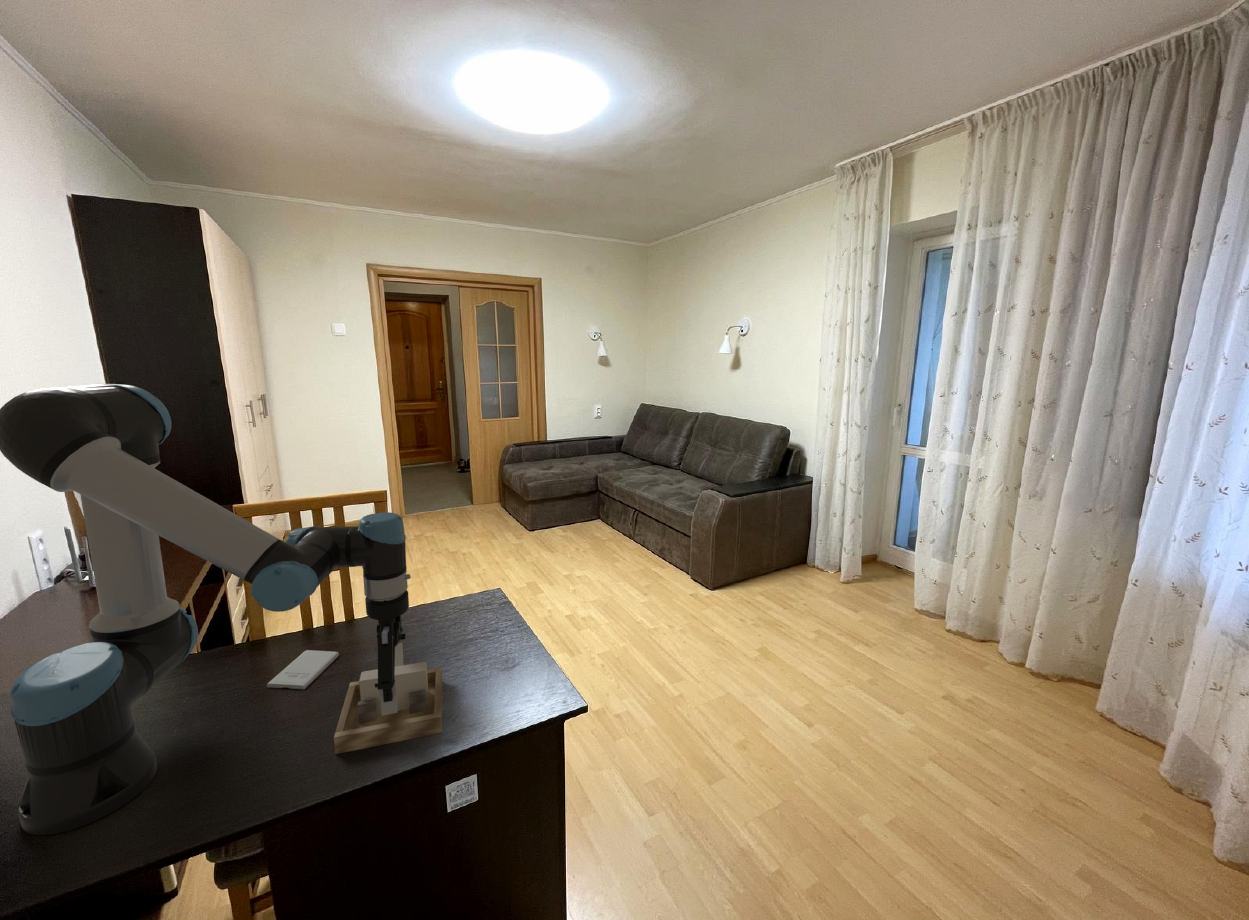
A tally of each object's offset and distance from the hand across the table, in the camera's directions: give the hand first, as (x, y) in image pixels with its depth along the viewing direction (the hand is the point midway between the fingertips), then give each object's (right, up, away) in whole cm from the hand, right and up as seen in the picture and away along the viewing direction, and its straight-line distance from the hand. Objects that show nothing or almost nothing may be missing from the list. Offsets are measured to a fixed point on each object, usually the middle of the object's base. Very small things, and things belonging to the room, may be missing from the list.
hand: (393, 690), depth 100 cm
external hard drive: (-26, -2, +13) cm, 29 cm away
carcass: (0, -5, 0) cm, 5 cm away
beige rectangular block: (0, -4, +1) cm, 4 cm away
